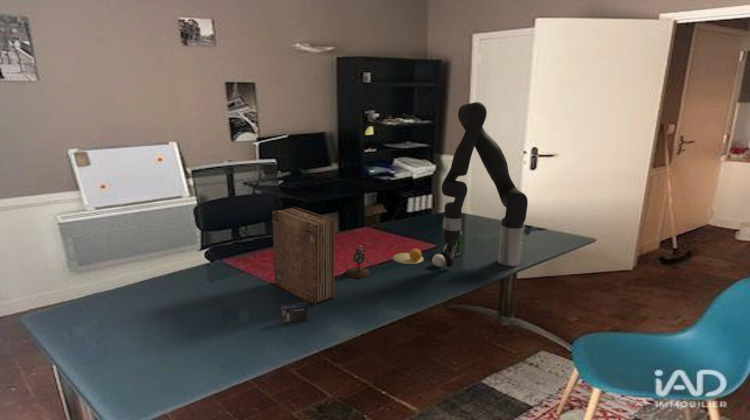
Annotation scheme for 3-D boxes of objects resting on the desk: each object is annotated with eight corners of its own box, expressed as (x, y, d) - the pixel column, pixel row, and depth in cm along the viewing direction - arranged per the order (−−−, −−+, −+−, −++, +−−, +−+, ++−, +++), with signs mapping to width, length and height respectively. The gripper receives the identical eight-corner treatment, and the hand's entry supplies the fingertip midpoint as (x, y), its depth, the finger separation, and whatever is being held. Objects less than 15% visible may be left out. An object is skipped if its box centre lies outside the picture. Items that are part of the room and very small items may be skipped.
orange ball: (425, 252, 219) (416, 257, 222) (417, 244, 218) (409, 249, 221) (422, 260, 214) (413, 265, 218) (414, 251, 213) (405, 256, 217)
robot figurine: (353, 280, 195) (353, 252, 192) (339, 273, 202) (340, 246, 199) (374, 274, 202) (375, 246, 199) (361, 267, 208) (361, 241, 205)
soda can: (461, 257, 224) (463, 232, 221) (445, 256, 224) (446, 231, 221) (459, 251, 231) (461, 227, 228) (443, 251, 231) (444, 227, 228)
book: (334, 298, 178) (334, 219, 170) (314, 306, 172) (313, 224, 164) (294, 278, 195) (292, 205, 188) (274, 284, 189) (272, 209, 182)
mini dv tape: (281, 323, 159) (281, 306, 157) (281, 321, 160) (280, 304, 159) (307, 320, 161) (306, 304, 160) (306, 318, 162) (306, 302, 161)
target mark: (412, 251, 230) (412, 251, 230) (429, 261, 218) (429, 260, 218) (386, 255, 223) (386, 255, 223) (402, 265, 211) (402, 265, 211)
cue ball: (447, 255, 212) (442, 265, 215) (436, 249, 213) (431, 259, 215) (446, 261, 207) (440, 271, 210) (434, 255, 208) (429, 265, 210)
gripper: (452, 232, 197) (449, 272, 201) (467, 225, 207) (464, 264, 211) (436, 229, 201) (433, 268, 205) (451, 222, 211) (449, 260, 216)
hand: (449, 266), depth 208 cm, fingers closed
